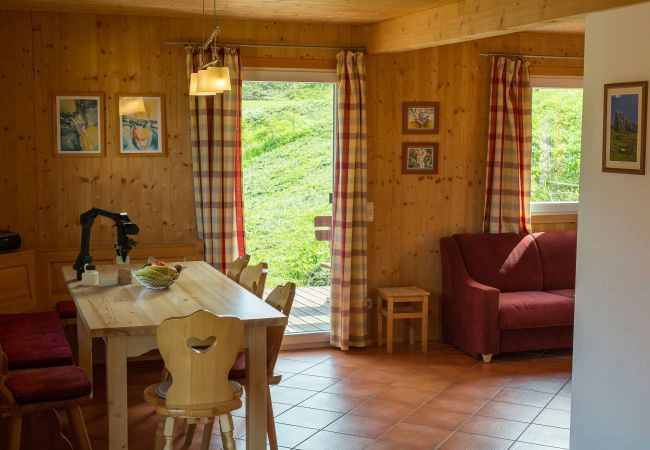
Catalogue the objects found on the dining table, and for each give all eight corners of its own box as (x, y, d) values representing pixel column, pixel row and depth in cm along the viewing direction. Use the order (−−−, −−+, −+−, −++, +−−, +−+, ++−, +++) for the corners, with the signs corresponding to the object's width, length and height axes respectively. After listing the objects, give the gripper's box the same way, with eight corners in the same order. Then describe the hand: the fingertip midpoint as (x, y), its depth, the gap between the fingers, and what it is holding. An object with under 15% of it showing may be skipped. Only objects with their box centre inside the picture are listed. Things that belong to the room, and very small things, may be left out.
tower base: (117, 283, 483) (117, 276, 483) (127, 282, 487) (127, 275, 487) (121, 284, 479) (121, 277, 478) (131, 283, 482) (131, 276, 482)
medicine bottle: (98, 284, 482) (98, 263, 481) (94, 286, 475) (93, 265, 474) (86, 283, 483) (86, 263, 482) (81, 286, 476) (81, 264, 475)
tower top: (118, 276, 484) (118, 269, 484) (128, 275, 486) (128, 268, 486) (120, 277, 479) (119, 270, 478) (130, 276, 481) (130, 269, 481)
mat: (94, 281, 492) (94, 280, 492) (123, 279, 500) (123, 278, 500) (105, 287, 472) (105, 286, 472) (135, 284, 480) (135, 284, 480)
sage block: (116, 263, 484) (116, 256, 484) (126, 262, 487) (126, 255, 487) (119, 264, 479) (118, 257, 478) (129, 263, 482) (129, 256, 481)
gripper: (140, 235, 477) (141, 262, 478) (131, 232, 493) (132, 259, 495) (121, 236, 472) (122, 264, 473) (112, 233, 488) (113, 260, 489)
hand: (122, 261), depth 483 cm, fingers closed on sage block, 6 cm apart
